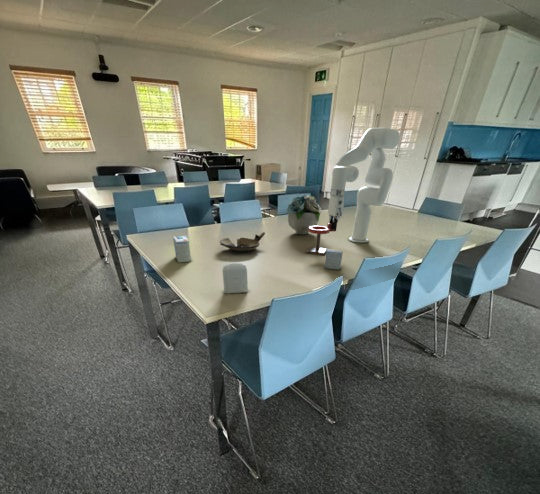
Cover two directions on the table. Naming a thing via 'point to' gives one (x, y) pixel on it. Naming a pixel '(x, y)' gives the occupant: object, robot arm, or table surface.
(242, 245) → the oil lamp
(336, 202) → the robot arm
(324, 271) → the table surface
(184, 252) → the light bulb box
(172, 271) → the table surface
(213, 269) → the table surface
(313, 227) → the ring
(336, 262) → the medicine box
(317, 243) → the post
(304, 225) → the flower arrangement
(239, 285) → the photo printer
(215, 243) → the table surface
